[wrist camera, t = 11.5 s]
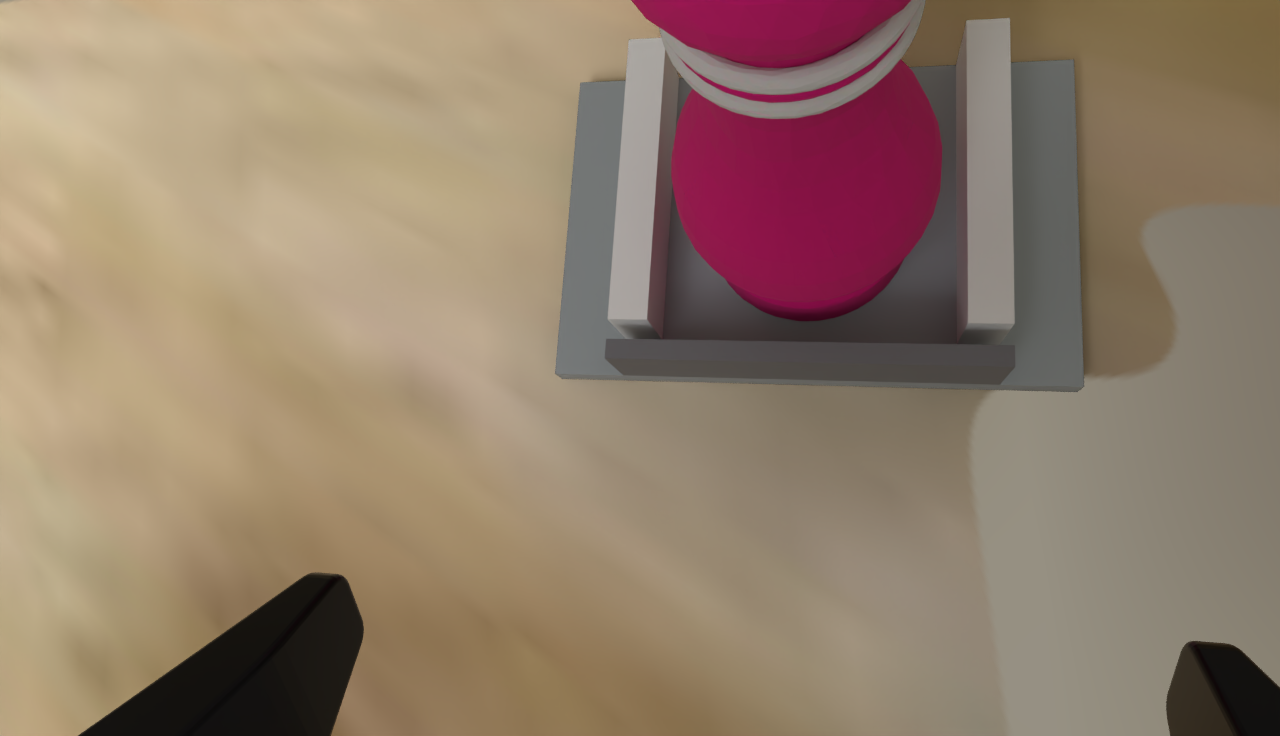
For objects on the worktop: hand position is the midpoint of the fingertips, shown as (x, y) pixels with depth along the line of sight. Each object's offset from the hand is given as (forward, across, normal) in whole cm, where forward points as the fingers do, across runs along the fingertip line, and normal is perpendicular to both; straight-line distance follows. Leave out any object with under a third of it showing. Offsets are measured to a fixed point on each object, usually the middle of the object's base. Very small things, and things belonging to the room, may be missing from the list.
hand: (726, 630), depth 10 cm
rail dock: (+21, 0, +5) cm, 22 cm away
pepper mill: (+21, 0, +5) cm, 21 cm away
